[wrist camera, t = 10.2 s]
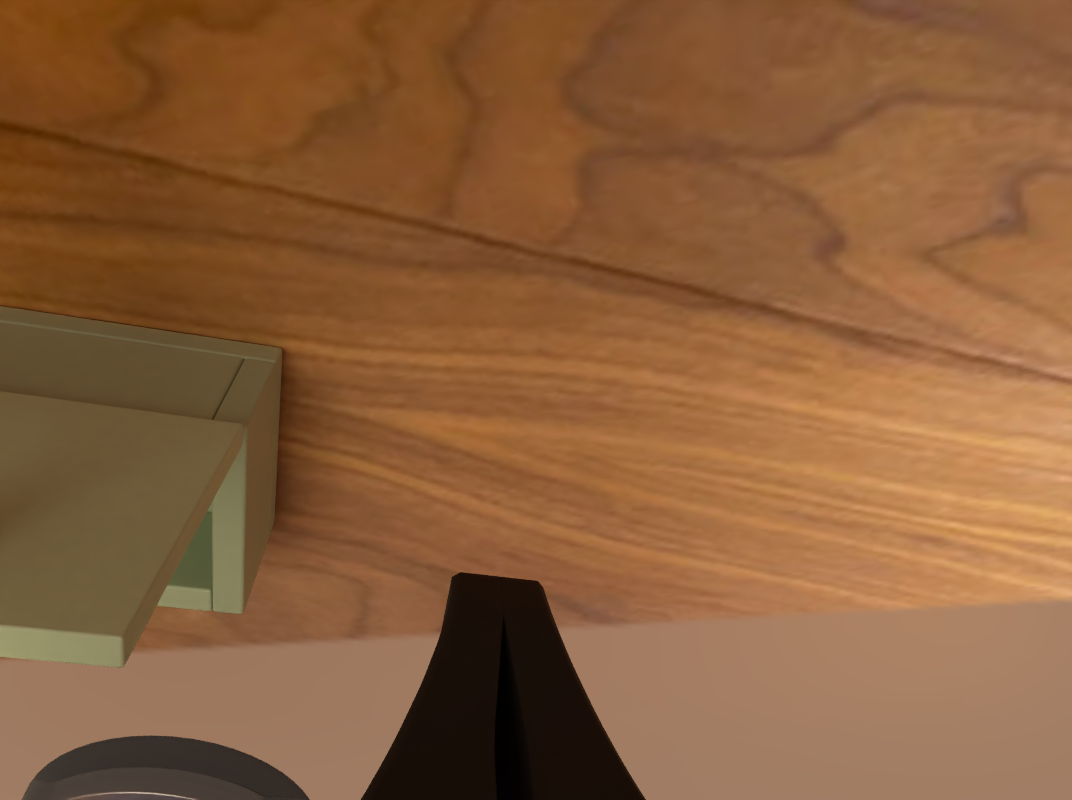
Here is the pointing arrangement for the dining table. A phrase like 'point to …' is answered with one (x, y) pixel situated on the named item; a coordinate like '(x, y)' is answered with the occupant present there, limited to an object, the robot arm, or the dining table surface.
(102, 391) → the box
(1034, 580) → the dining table surface
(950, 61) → the dining table surface
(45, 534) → the lid
